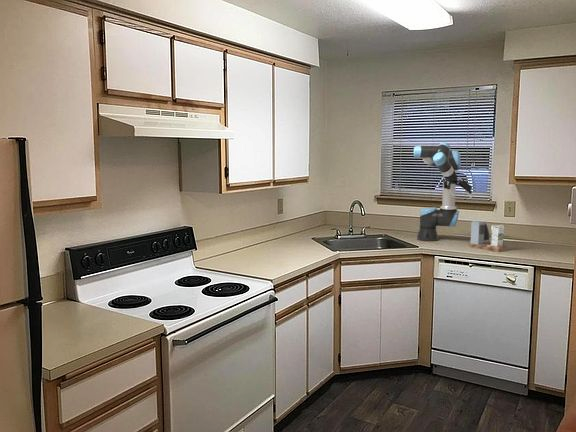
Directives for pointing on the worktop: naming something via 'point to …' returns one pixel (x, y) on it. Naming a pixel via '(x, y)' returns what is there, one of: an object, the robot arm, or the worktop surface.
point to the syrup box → (497, 235)
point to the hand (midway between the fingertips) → (462, 195)
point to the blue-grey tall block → (477, 232)
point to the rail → (489, 247)
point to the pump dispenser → (486, 234)
